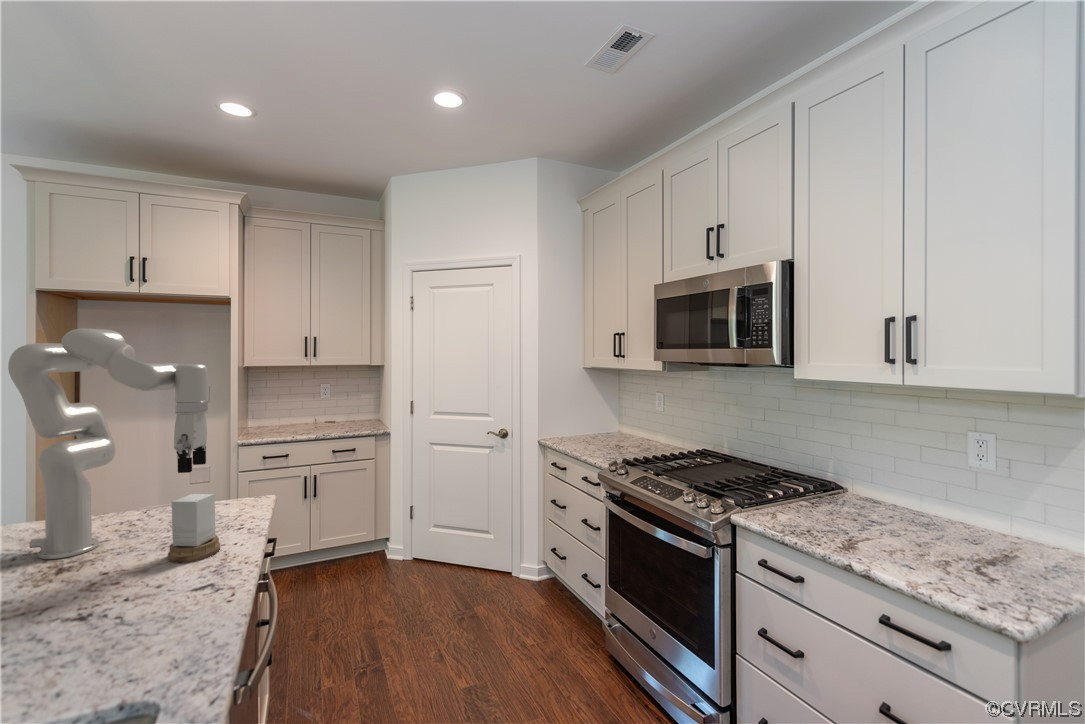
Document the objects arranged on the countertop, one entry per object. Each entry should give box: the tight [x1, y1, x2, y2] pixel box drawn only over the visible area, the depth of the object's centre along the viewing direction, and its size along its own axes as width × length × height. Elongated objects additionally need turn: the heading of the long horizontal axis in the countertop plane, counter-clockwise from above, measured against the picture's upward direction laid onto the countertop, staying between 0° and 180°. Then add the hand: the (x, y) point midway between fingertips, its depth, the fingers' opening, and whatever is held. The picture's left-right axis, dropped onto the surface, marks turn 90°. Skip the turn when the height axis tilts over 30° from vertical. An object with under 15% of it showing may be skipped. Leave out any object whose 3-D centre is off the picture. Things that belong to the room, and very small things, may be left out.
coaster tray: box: [167, 534, 221, 564], centre depth 138 cm, size 12×12×4 cm
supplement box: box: [171, 493, 217, 546], centre depth 138 cm, size 7×7×13 cm
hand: (192, 468), depth 138 cm, fingers open, 9 cm apart
